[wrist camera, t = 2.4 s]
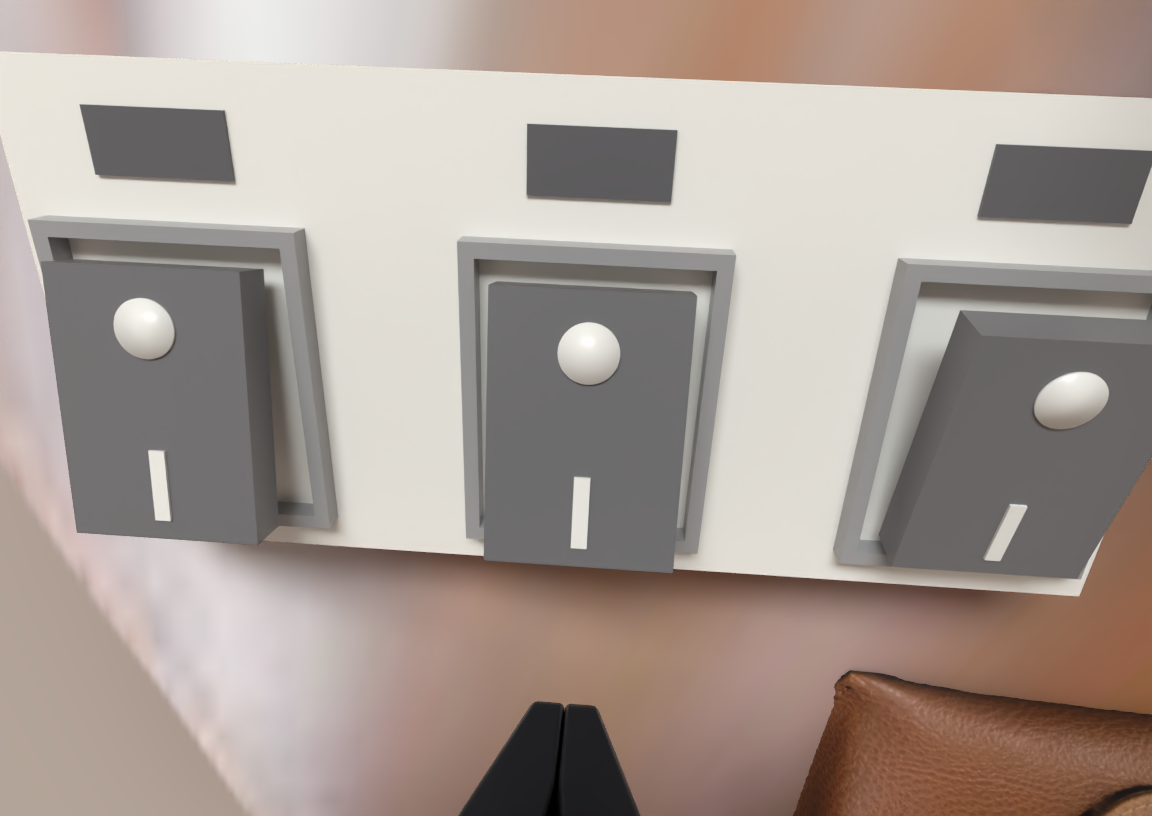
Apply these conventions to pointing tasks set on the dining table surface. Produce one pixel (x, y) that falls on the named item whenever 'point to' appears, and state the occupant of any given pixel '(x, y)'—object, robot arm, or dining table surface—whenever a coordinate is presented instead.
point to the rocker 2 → (1024, 445)
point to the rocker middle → (585, 424)
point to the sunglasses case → (974, 755)
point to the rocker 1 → (164, 398)
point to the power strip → (595, 264)
